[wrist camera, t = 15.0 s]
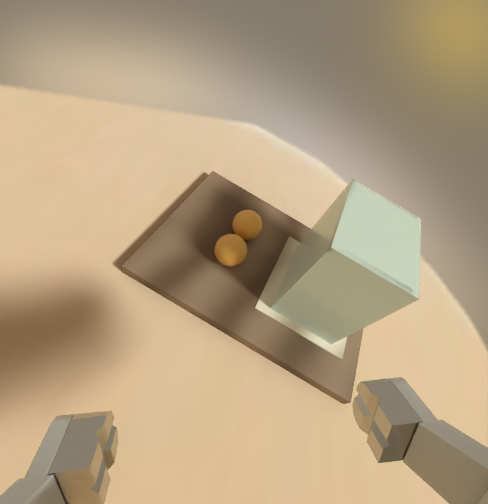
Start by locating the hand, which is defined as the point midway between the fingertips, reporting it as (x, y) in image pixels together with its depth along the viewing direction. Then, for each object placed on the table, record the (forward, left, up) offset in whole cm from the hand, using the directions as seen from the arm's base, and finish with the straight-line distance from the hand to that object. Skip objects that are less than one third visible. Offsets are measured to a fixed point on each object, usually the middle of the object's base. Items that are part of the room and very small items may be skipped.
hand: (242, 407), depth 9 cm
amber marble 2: (-4, +17, -12) cm, 21 cm away
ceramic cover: (+5, +15, -12) cm, 20 cm away
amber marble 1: (-4, +14, -12) cm, 19 cm away
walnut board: (0, +15, -13) cm, 20 cm away
